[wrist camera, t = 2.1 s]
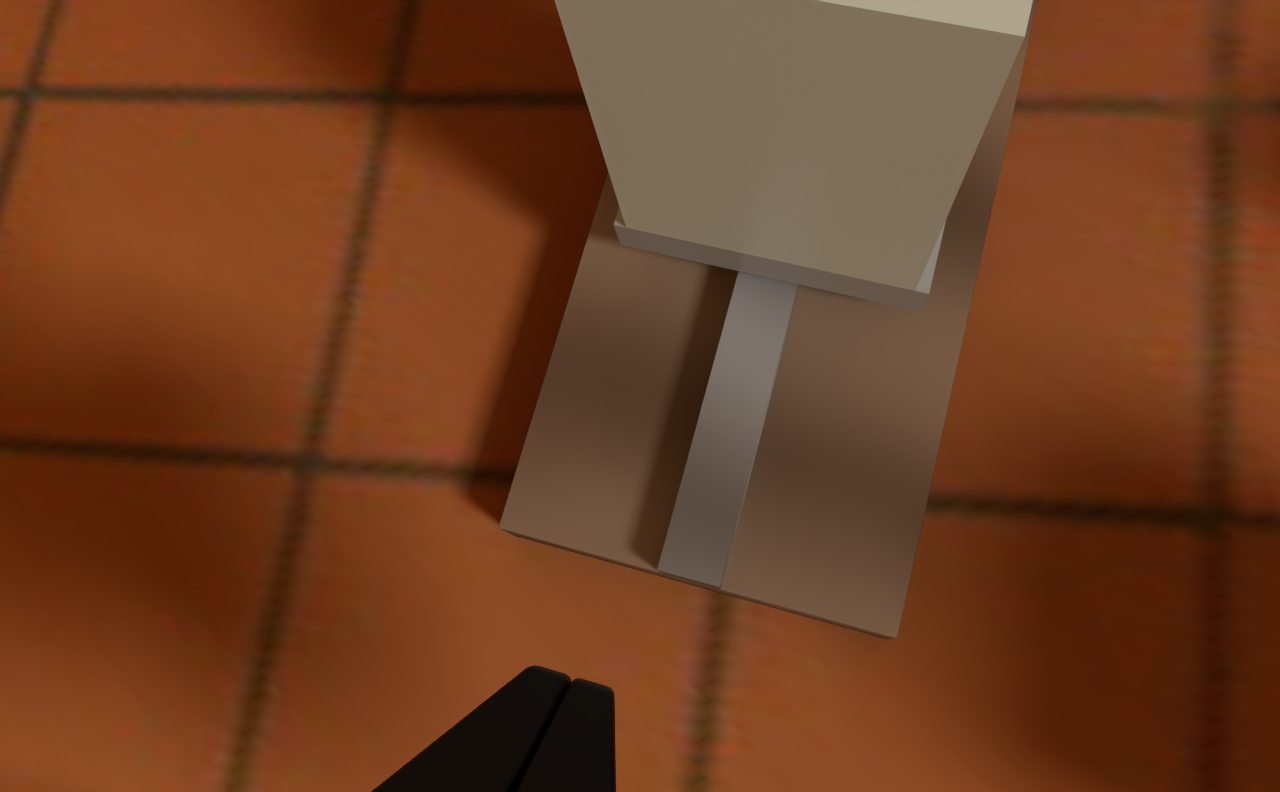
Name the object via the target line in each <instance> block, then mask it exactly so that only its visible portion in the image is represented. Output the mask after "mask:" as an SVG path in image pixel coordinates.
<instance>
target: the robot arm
mask: <svg viewBox="0 0 1280 792" xmlns="http://www.w3.org/2000/svg"><path fill="white" fill-rule="evenodd" d="M372 792H616V761H615V700H614V692H613V690H612V689H611V688H610V687H608V686H604V685H601V684H598V683H594V682H591V681H587V680H584V679H579V678H577V679H574V680H573V681H572V682H571V678H570V677H569V676H568V675H566V674H564V673H561V672H557V671H554V670H551V669H547V668H544V667H541V666H535V665H534V666H530V667H528V668H526V669H525V670H523V671H522V672H521V673H520V674H518V675H517V676H516V677H515V678H513V679H512V680H511V681H510V682H508V683H507V684H506V685H505V686H503V687H502V688H501V689H500V690H498V691H497V692H496V693H495V694H493V695H492V696H491V697H490V698H488V699H487V700H486V701H484V702H483V703H482V704H481V705H479V706H478V707H477V708H476V709H474V710H473V711H472V712H471V713H469V714H468V715H467V716H466V717H464V718H463V719H462V720H461V721H459V722H458V723H457V724H456V725H454V726H453V727H452V728H451V729H449V730H448V731H447V732H446V733H444V734H443V735H442V736H441V737H439V738H438V739H437V740H436V741H434V742H433V743H432V744H431V745H429V746H428V747H427V748H426V749H424V750H423V751H422V752H420V753H419V754H418V755H417V756H415V757H414V758H413V759H412V760H410V761H409V762H408V763H407V764H405V765H404V766H403V767H402V768H400V769H399V770H398V771H397V772H395V773H394V774H393V775H392V776H390V777H389V778H388V779H387V780H385V781H384V782H383V783H382V784H380V785H379V786H378V787H377V788H375V789H374V790H373V791H372Z"/></svg>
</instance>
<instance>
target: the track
mask: <svg viewBox="0 0 1280 792" xmlns="http://www.w3.org/2000/svg"><path fill="white" fill-rule="evenodd" d="M1037 2H1038V0H1033V2H1032V7H1031V11H1030V16H1029V20H1028V25H1027V29H1026V34H1025V38H1024V40H1023V42H1022V44H1021V47H1020V49H1019V51H1018V54H1017V56H1016V58H1015V61H1014V63H1013V65H1012V68H1011V70H1010V72H1009V75H1008V77H1007V79H1006V82H1005V84H1004V86H1003V89H1002V91H1001V93H1000V95H999V98H998V100H997V102H996V105H995V107H994V109H993V112H992V114H991V116H990V119H989V121H988V123H987V126H986V128H985V130H984V133H983V135H982V137H981V140H980V142H979V144H978V146H977V149H976V151H975V153H974V156H973V158H972V160H971V163H970V165H969V167H968V170H967V172H966V174H965V177H964V179H963V181H962V184H961V186H960V188H959V191H958V193H957V195H956V197H955V200H954V202H953V204H952V207H951V209H950V211H949V214H948V216H947V218H946V222H945V227H944V231H943V235H942V240H941V244H940V249H939V253H938V257H937V262H936V266H935V270H934V275H933V279H932V283H931V288H930V292H929V295H928V297H927V299H926V301H925V304H924V306H923V308H922V310H921V312H920V311H916V310H911V309H907V308H902V307H898V306H893V305H889V304H884V303H880V302H875V301H871V300H866V299H862V298H857V297H853V296H848V295H844V294H839V293H835V292H830V291H826V290H821V289H817V288H812V287H808V286H803V285H799V284H794V283H790V282H785V281H781V280H776V279H772V278H767V277H763V276H758V275H754V274H749V273H745V272H740V271H736V270H731V269H727V268H722V267H718V266H713V265H709V264H704V263H700V262H695V261H691V260H686V259H682V258H677V257H673V256H668V255H664V254H659V253H655V252H650V251H646V250H641V249H637V248H632V247H628V246H623V245H620V242H619V239H618V236H617V233H616V230H615V227H614V222H615V219H616V215H617V212H618V209H619V203H618V200H617V197H616V194H615V191H614V188H613V184H612V181H611V178H610V175H609V172H608V173H607V176H606V179H605V183H604V186H603V189H602V192H601V196H600V199H599V202H598V205H597V209H596V212H595V215H594V218H593V222H592V225H591V228H590V231H589V235H588V238H587V241H586V244H585V248H584V251H583V254H582V257H581V261H580V264H579V267H578V271H577V274H576V277H575V280H574V284H573V287H572V290H571V293H570V297H569V300H568V303H567V306H566V310H565V313H564V316H563V319H562V323H561V326H560V329H559V332H558V336H557V339H556V342H555V345H554V349H553V352H552V355H551V358H550V362H549V365H548V368H547V371H546V375H545V378H544V381H543V384H542V388H541V391H540V394H539V397H538V401H537V404H536V407H535V410H534V414H533V417H532V420H531V424H530V427H529V430H528V433H527V437H526V440H525V443H524V446H523V450H522V453H521V456H520V459H519V463H518V466H517V469H516V472H515V476H514V479H513V482H512V485H511V489H510V492H509V495H508V498H507V502H506V505H505V508H504V511H503V515H502V518H501V521H500V524H499V528H500V529H502V530H504V531H506V532H508V533H510V534H512V535H515V536H517V537H521V538H525V539H528V540H532V541H535V542H539V543H543V544H546V545H550V546H553V547H557V548H561V549H564V550H568V551H571V552H575V553H579V554H582V555H586V556H589V557H593V558H597V559H600V560H604V561H607V562H611V563H615V564H618V565H622V566H625V567H629V568H633V569H636V570H640V571H643V572H647V573H651V574H654V575H658V576H661V577H665V578H669V579H672V580H676V581H679V582H683V583H687V584H690V585H694V586H697V587H701V588H705V589H708V590H712V591H715V592H719V593H723V594H726V595H730V596H733V597H737V598H741V599H744V600H748V601H751V602H755V603H759V604H762V605H766V606H769V607H773V608H777V609H780V610H784V611H787V612H791V613H794V614H798V615H802V616H805V617H809V618H812V619H816V620H820V621H823V622H827V623H830V624H834V625H838V626H841V627H845V628H848V629H852V630H856V631H859V632H863V633H866V634H870V635H874V636H877V637H881V638H884V639H896V638H897V635H898V631H899V626H900V622H901V617H902V613H903V608H904V604H905V599H906V595H907V590H908V586H909V581H910V577H911V572H912V568H913V563H914V558H915V554H916V549H917V545H918V540H919V536H920V531H921V527H922V522H923V518H924V513H925V509H926V504H927V500H928V495H929V491H930V486H931V482H932V477H933V473H934V468H935V463H936V459H937V454H938V450H939V445H940V441H941V436H942V432H943V427H944V423H945V418H946V414H947V409H948V405H949V400H950V396H951V391H952V387H953V382H954V377H955V373H956V368H957V364H958V359H959V355H960V350H961V346H962V341H963V337H964V332H965V328H966V323H967V319H968V314H969V310H970V305H971V301H972V296H973V291H974V287H975V282H976V278H977V273H978V269H979V264H980V260H981V255H982V251H983V246H984V242H985V237H986V233H987V228H988V224H989V219H990V215H991V210H992V206H993V201H994V196H995V192H996V187H997V183H998V178H999V174H1000V169H1001V165H1002V160H1003V156H1004V151H1005V147H1006V142H1007V138H1008V133H1009V129H1010V124H1011V120H1012V115H1013V110H1014V106H1015V101H1016V97H1017V92H1018V88H1019V83H1020V79H1021V74H1022V70H1023V65H1024V61H1025V56H1026V52H1027V47H1028V43H1029V38H1030V34H1031V29H1032V24H1033V20H1034V15H1035V11H1036V6H1037Z"/></svg>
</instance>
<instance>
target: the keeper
mask: <svg viewBox="0 0 1280 792" xmlns="http://www.w3.org/2000/svg"><path fill="white" fill-rule="evenodd" d="M1032 2H1033V0H555V4H556V7H557V10H558V13H559V16H560V19H561V23H562V26H563V29H564V32H565V35H566V39H567V42H568V45H569V48H570V51H571V54H572V58H573V61H574V64H575V67H576V70H577V73H578V77H579V80H580V83H581V86H582V89H583V92H584V96H585V99H586V102H587V105H588V108H589V111H590V115H591V118H592V121H593V124H594V127H595V130H596V134H597V137H598V140H599V143H600V146H601V150H602V153H603V156H604V159H605V162H606V165H607V169H608V172H609V175H610V178H611V181H612V184H613V188H614V191H615V194H616V197H617V200H618V203H619V209H618V212H617V215H616V219H615V222H614V227H615V230H616V233H617V236H618V239H619V242H620V245H623V246H628V247H632V248H637V249H641V250H646V251H650V252H655V253H659V254H664V255H668V256H673V257H677V258H682V259H686V260H691V261H695V262H700V263H704V264H709V265H713V266H718V267H722V268H727V269H731V270H736V271H740V272H745V273H749V274H754V275H758V276H763V277H767V278H772V279H776V280H781V281H785V282H790V283H794V284H799V285H803V286H808V287H812V288H817V289H821V290H826V291H830V292H835V293H839V294H844V295H848V296H853V297H857V298H862V299H866V300H871V301H875V302H880V303H884V304H889V305H893V306H898V307H902V308H907V309H911V310H916V311H920V312H921V310H922V308H923V306H924V304H925V301H926V299H927V297H928V295H929V292H930V288H931V283H932V279H933V275H934V270H935V266H936V262H937V257H938V253H939V249H940V244H941V240H942V235H943V231H944V227H945V222H946V218H947V216H948V214H949V211H950V209H951V207H952V204H953V202H954V200H955V197H956V195H957V193H958V191H959V188H960V186H961V184H962V181H963V179H964V177H965V174H966V172H967V170H968V167H969V165H970V163H971V160H972V158H973V156H974V153H975V151H976V149H977V146H978V144H979V142H980V140H981V137H982V135H983V133H984V130H985V128H986V126H987V123H988V121H989V119H990V116H991V114H992V112H993V109H994V107H995V105H996V102H997V100H998V98H999V95H1000V93H1001V91H1002V89H1003V86H1004V84H1005V82H1006V79H1007V77H1008V75H1009V72H1010V70H1011V68H1012V65H1013V63H1014V61H1015V58H1016V56H1017V54H1018V51H1019V49H1020V47H1021V44H1022V42H1023V40H1024V38H1025V34H1026V29H1027V25H1028V20H1029V16H1030V11H1031V7H1032Z"/></svg>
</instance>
